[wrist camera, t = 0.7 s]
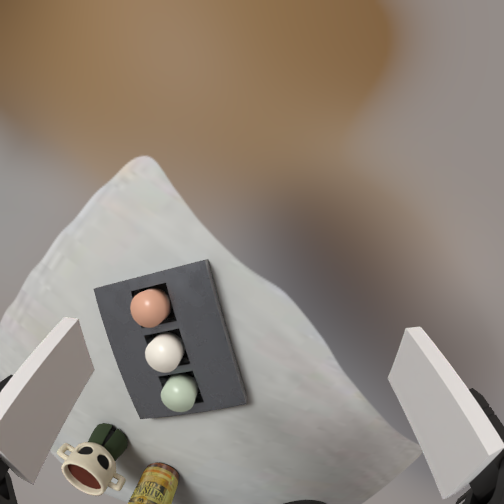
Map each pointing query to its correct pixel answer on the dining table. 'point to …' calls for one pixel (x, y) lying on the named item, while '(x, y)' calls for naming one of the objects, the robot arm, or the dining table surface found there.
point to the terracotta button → (150, 307)
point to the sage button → (179, 392)
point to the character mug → (95, 461)
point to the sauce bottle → (156, 485)
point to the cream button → (165, 352)
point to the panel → (193, 335)
